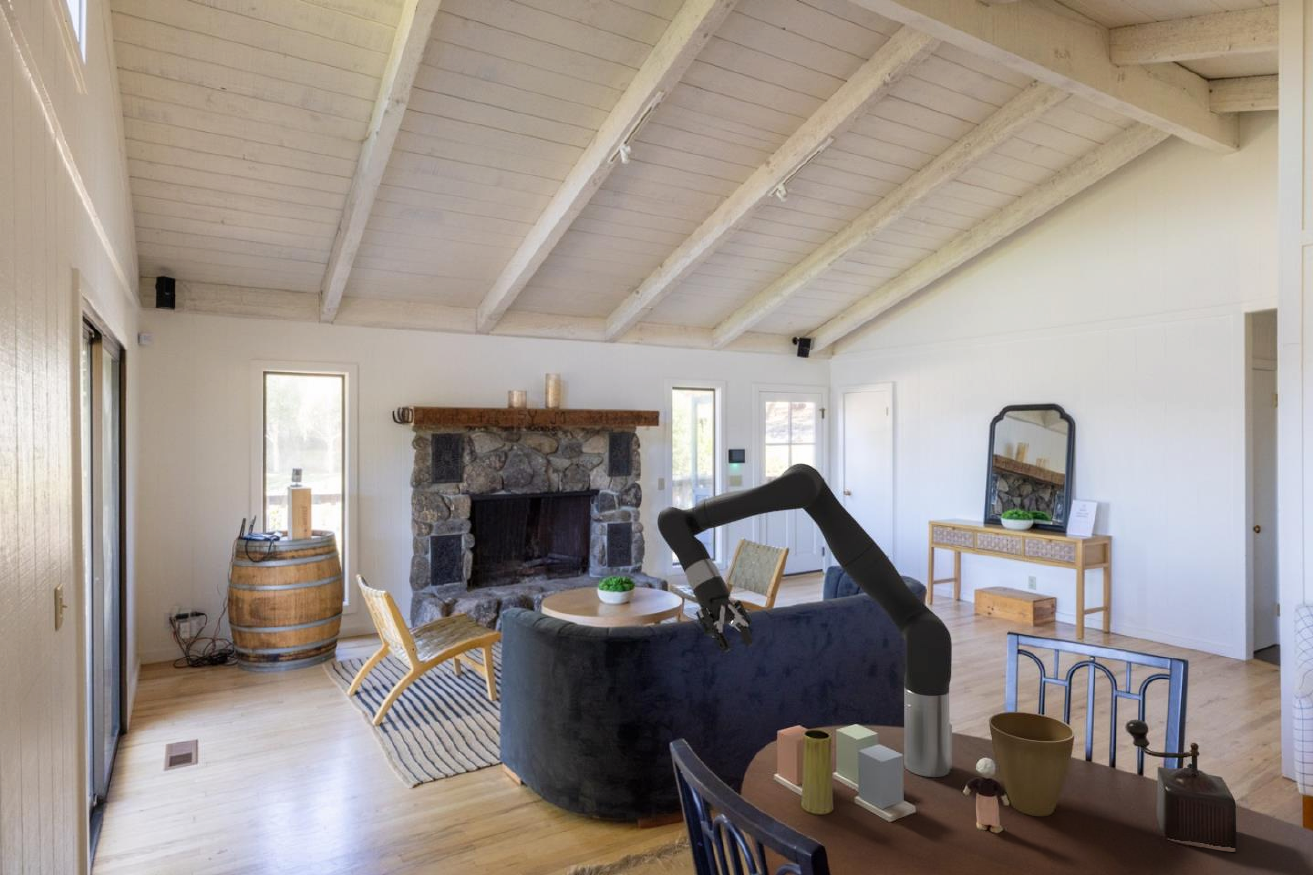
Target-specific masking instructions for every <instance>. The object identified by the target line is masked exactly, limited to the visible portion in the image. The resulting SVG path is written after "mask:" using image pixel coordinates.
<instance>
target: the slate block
mask: <svg viewBox="0 0 1313 875" xmlns="http://www.w3.org/2000/svg"><path fill="white" fill-rule="evenodd" d="M904 788H905V787H904V754H902V753H900V752H898V751H895V750H893V749H891V748H889V747H886V746H884V745H882V744H880V743H878V745H875V746H872V747H869V748H866V749H862V750H859V751H858V791H857V793H858V794H857V796H858V797H860V798H862V799H864V800H866V801H868V802H870V803H871V804H873V805H875V806H877V807H879V808H881V809H884V808H887V807H889V806H892V805H895V804H897V803H900V802H903V801H905V800H904Z"/></svg>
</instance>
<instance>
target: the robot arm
mask: <svg viewBox="0 0 1313 875" xmlns="http://www.w3.org/2000/svg"><path fill="white" fill-rule="evenodd" d="M799 509H802V510H804V511H805V512H806V513H807V514H808V516H809V517H810V518H811V519H812V520H813V521H814V523H815V524H816V525H817V527H818V528H819V530H820V532H821V534H822V536H823V538H824V539H825V542H826V544H827V546H828V548H829V550H830V552H831V553H832V556H833V557H834V559H835V560H836V561H837V563H838V564H839V566H840V567H841V568H842V569H843V570H844V571H845V572H846V574H847V576H849V577H850V579H851V581H853V582H854V583H855V584H856V585H857V586H858V587H859V588H860V589H861V590H862V591H863V592H864V593H865V594H866V595H868V597H870V598H871V599H872V600H874V601H875V603H877V604H878V605H879V606H880V607H881V608H882V609H883V610H884V611H885V613H886V614H887V615H888V617H889V618H890V619H891V621H892V623H893V624H894V625H895V626H896V628H897V630H898V632H900V634H901V636H902V638H903V640H904V642H905V672H904V675H903V677H904V678H903V682H904V683H903V686H904V688H903V689H904V690H903V692H904V696H903V697H904V698H903V699H904V704H903V705H904V708H903V709H904V711H903V712H904V714H903V715H904V718H903V719H904V728H903V729H904V735H903V736H904V738H903V739H904V743H903V744H904V749H903V750H904V752H903V753H904V754H903V766H904V768H906V770H907V771H909V772H910V773H912V774H915V775H918V776H923V777H929V778H940V777H945V776H947V775H949V773H950V770H951V769H953V726H952V724H951V723H950V683H951V681H952V659H953V658H952V655H953V652H952V651H953V649H952V647H953V645H952V643H953V642H952V636H951V633H950V630H949V629H948V627H947V625H946V624H945V623H944V621H943V620H942V619H941V618H940V617H939V616H938V615H936V614H935V613H934V611H932V610H931V609H929V607H928V606H926V605H925V604H924V602H922V601H921V599H919V597H918V596H917V595H916V594H915V593H914V592H913V591H912V590H911V589H910V587H909V586H908V585H907V584H906V582H905V581H904V579H903V577H902V576H901V574H900V573H899V571H898V569H897V568H896V567H895V565H894V564H893V563H892V561H891V560H890V558H889V557H888V556H887V554H885V552H884V551H883V550H882V548H881V547H880V546H879V545H878V543H877V542H876V541H875V540H874V539H873V538H872V537H871V535H869V534H868V532H867V531H865V529H864V528H863V527H862V526H861V524H860V523H859V522H858V521H857V520H856V519H855V518H854V517H853V515H851V514H850V512H848V511H847V509H846V508H845V507H844V506H843V505H842V503H840V501H839V500H838V498H837V496H836V495H835V494H834V493H833V491H832V490H831V489H830V487H829V485H828V484H827V482H826V481H825V480H824V478H823V477H822V475H821V473H820V472H819V471H818V470H817V469H816V468H814V467H813V466H812V465H809V464H805V463H795V464H793V465H791V466H789V467H788V468H787V469H786V470H785V471H783V473H781V475H779V476H778V477H776V478H774V479H771V480H770V481H767V482H765V483H764V484H761V485H758V486H755V487H752V488H747V489H742V490H736V491H730V492H725V493H720V494H718V495H714V496H711V497H708V498H705V499H701V500H699V501H698V502H697V503H696V504H695V506H693V507H690V508H687V509H681V508H677V507H674V506H668V507H665V508H664V509H662V510H661V511H660V512H659V514H658V517H657V527H658V530H659V533H660V534H661V537H662V538H663V539H664V541H665V542H666V543H667V546H669V548H670V549H671V551H672V552H673V553H674V555H675V556H676V558H677V559H678V561H679V564H680V566H681V568H682V570H683V572H684V575H685V576H686V580H687V583H688V584H689V587H690V589H691V591H692V594H693V595H694V597H695V599H696V601H697V602H698V605H699V607H700V609H698V610H697V611H696V613H695V614H696V617H697V619H698V621H699V623H700V625H701V627H702V630H703V633H704V635H705V636H706V637H709V636H710V637H712V638H714V639H715V641H716V643H717V645H718V648H719V649H720V650H721V652H722V653H727V652H729V651H730V650H731V648H732V647H731V645H730V642H729V640H728V638H727V637H726V634H725V632H724V631H723V630H724V629H723V628H724V627H723V626H724V625H729V627H734V628H735V630H737V631H738V633H739V635H740V637H741V640H742V641H743V643H744V645H745V647H751V646H752V645H754V644H755V639H754V637H753V635H752V633H751V631H750V629H749V627H750V625H751V624H752V623H753V621H752V619H751V617H750V616H749V614H748V612H747V610H746V608H745V607H744V605H743V603H742V602H741V601H740V600H739V599H738V600H737V601H735V602H732V601H731V600H730V598H729V597H730V594H731V593H730V590H729V587H728V586H727V584H726V583H725V581H724V578H723V576H722V575H721V573H720V571H719V569H718V567H717V565H716V564H715V563H714V562H713V560H712V558H711V556H710V554H709V552H708V550H707V547H706V545H704V543H703V542H702V541H701V540H700V539H698V538H697V535H700V534H701V533H703V532H705V531H708V530H709V529H713V528H718V527H720V526H724V525H727V524H728V525H729V524H731V523H736V522H738V521H741V520H745V519H747V518H750V517H754V516H758V515H763V514H768V513H774V512H781V511H789V510H799ZM743 618H744V619H743Z"/></svg>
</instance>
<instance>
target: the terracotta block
mask: <svg viewBox="0 0 1313 875" xmlns="http://www.w3.org/2000/svg"><path fill="white" fill-rule="evenodd" d="M806 730H809V729H808V728H806V727H803V726H802V725H794V726H791V727H788V728H784V729H780V730H777V732H776V734H777V735H776V737H777V738H776V741H777V744H776V746H777V749H776V752H777V756H776V757H777V758H776V759H777V765H776V766H777V767H776V768H777V769H776V770H777V771H776V774H779V775H780V776H782V777H784V778H785V779H787V780H789V781H791V782H792V783H794V784H796V785H799V784H802V783H803V751H804V732H805V731H806Z"/></svg>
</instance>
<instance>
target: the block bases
mask: <svg viewBox="0 0 1313 875" xmlns="http://www.w3.org/2000/svg"><path fill="white" fill-rule="evenodd" d="M832 779H834V780H836V781H837V782H840V783H842V784H843V785H845V786H847V787H849V788H850V789H852V790H854V789H855V790H854V791H856V792H858V783H856V782H854V781H852V780H850V779H848V778H846V777H844V776H842V775H840V774H838V773H837V772H836V771H835V772H832ZM773 780H774V781H776V782H777V783H779V784H780V785H783V786H784V787H786V788H787V789H789V790H790V791H793V792H795V793H796V794H798V795H799V796H801V797H802V784H799V785H796V784H794V783H792V782H791V781H789V780H787V779H785V778H784V777H782V776H780V775H779V774H777V773H775V774H773ZM854 803H855V804H857V805H859V807H862V808H864V809H866V810H868V811H869V812H871V813H873V814H874V815H877V816H879V817H880V818H881V819H883V820H886V821H887V822H889V823H891V822H893V821H896V820H898V819H901V818H903V817H907V816H909V815H911V814H914V813H916V810H917V808H916V806H915V805H913V804H911V803H910V802H907V801H906V800H904V801H903V802H900V803H897V804H895V805H892V806H889V807H887V808H884V809H881V808H879V807H877V806H875V805H873V804H871V803H870V802H868V801H866V800H864V799H862V798H860V797H858V795H857V796H855V797H854Z"/></svg>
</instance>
